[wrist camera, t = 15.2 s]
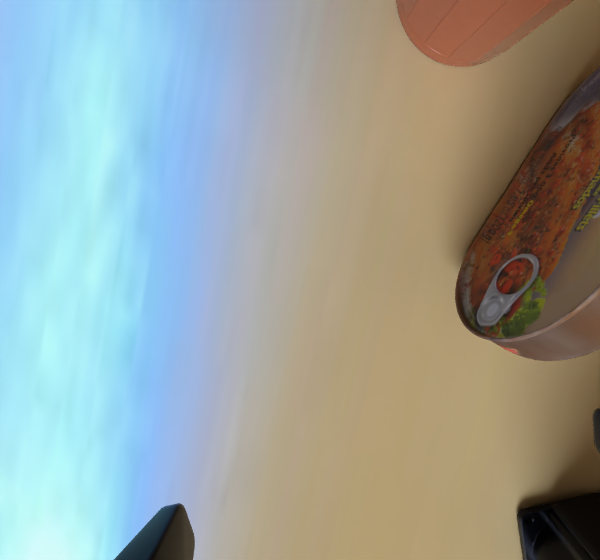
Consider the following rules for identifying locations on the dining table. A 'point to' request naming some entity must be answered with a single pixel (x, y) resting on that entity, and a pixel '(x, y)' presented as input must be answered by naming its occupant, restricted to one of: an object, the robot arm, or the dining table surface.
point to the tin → (543, 244)
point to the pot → (472, 26)
